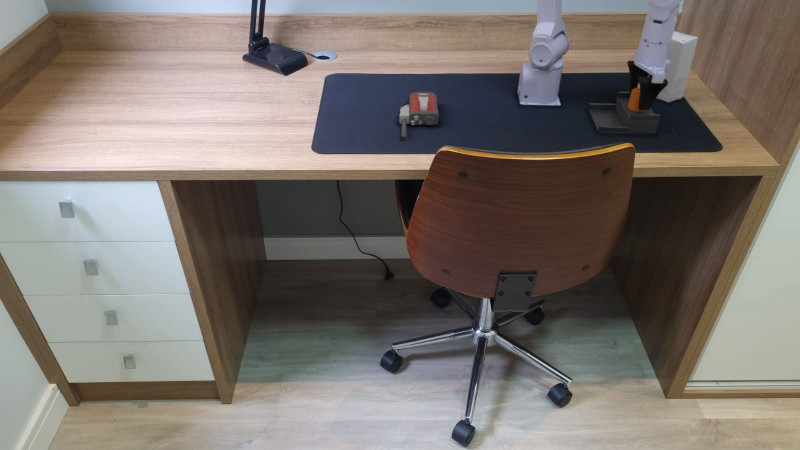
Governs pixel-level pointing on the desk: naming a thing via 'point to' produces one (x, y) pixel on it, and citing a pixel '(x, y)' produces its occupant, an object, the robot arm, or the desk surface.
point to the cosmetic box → (678, 66)
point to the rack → (623, 117)
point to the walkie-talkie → (419, 110)
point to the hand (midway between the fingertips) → (639, 101)
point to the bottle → (635, 100)
